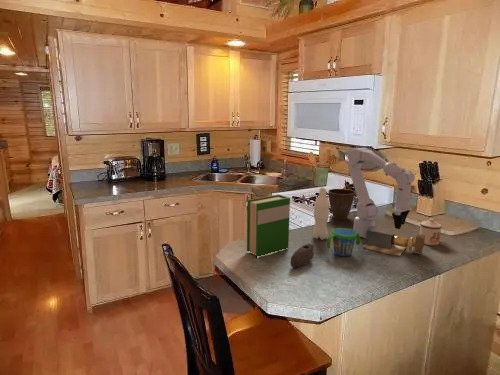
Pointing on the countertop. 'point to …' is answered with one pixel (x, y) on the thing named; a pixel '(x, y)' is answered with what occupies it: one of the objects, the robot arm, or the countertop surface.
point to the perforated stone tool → (302, 256)
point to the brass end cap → (405, 242)
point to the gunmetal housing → (379, 237)
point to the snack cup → (343, 241)
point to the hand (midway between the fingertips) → (399, 226)
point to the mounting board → (394, 250)
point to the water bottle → (321, 215)
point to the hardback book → (268, 224)
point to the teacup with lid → (430, 231)
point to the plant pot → (341, 202)
